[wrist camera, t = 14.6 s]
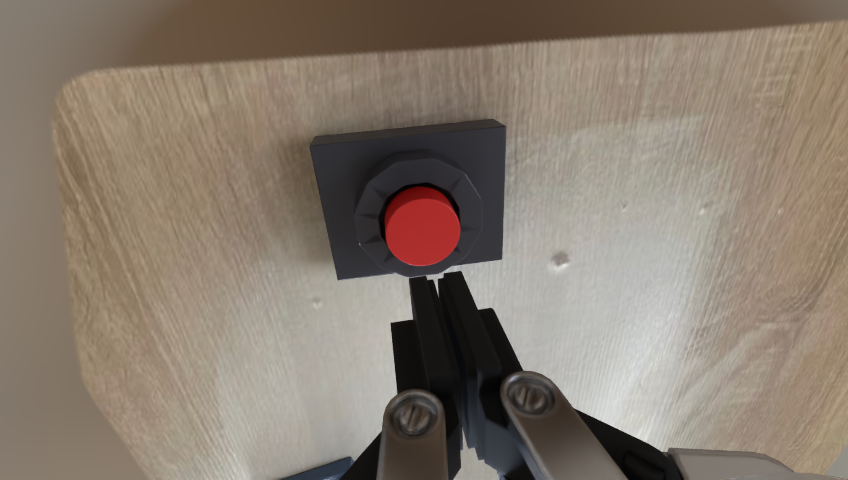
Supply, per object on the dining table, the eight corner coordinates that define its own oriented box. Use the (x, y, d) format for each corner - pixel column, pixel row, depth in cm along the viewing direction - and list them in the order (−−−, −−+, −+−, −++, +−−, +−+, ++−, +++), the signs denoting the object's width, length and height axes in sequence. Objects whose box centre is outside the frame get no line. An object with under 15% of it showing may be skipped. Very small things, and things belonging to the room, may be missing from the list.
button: (388, 253, 20) (390, 270, 19) (380, 190, 18) (381, 203, 17) (454, 245, 20) (461, 261, 19) (452, 182, 19) (459, 194, 17)
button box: (340, 262, 24) (335, 299, 21) (314, 136, 20) (303, 154, 17) (492, 243, 25) (512, 275, 21) (494, 118, 21) (519, 133, 18)
